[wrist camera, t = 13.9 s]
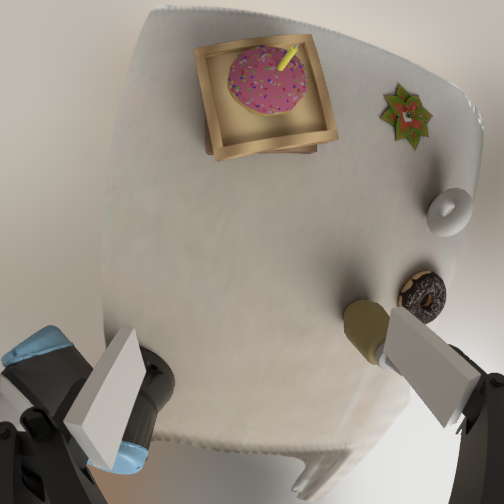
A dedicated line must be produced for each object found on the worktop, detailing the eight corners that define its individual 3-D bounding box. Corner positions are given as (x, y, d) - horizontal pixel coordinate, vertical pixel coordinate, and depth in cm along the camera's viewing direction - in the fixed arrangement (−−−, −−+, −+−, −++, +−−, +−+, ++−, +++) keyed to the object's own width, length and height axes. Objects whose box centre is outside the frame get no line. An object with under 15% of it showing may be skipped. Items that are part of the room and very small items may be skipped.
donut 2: (440, 181, 42) (476, 186, 32) (449, 194, 43) (484, 200, 33) (414, 222, 44) (448, 234, 34) (424, 234, 44) (457, 247, 35)
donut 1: (421, 258, 46) (432, 264, 42) (446, 289, 48) (457, 296, 44) (386, 303, 48) (395, 313, 44) (415, 329, 50) (425, 339, 46)
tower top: (218, 161, 36) (215, 159, 31) (198, 63, 32) (193, 49, 27) (326, 143, 36) (338, 139, 31) (302, 48, 31) (311, 34, 27)
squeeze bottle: (371, 330, 49) (416, 388, 32) (333, 333, 49) (370, 398, 31) (380, 292, 47) (435, 343, 30) (341, 293, 46) (387, 351, 29)
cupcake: (276, 52, 28) (292, 3, 17) (311, 104, 30) (346, 74, 19) (216, 81, 29) (205, 38, 18) (251, 135, 31) (258, 114, 20)
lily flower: (393, 73, 37) (406, 66, 32) (438, 116, 39) (453, 113, 34) (366, 119, 39) (379, 114, 35) (415, 163, 41) (431, 163, 37)
